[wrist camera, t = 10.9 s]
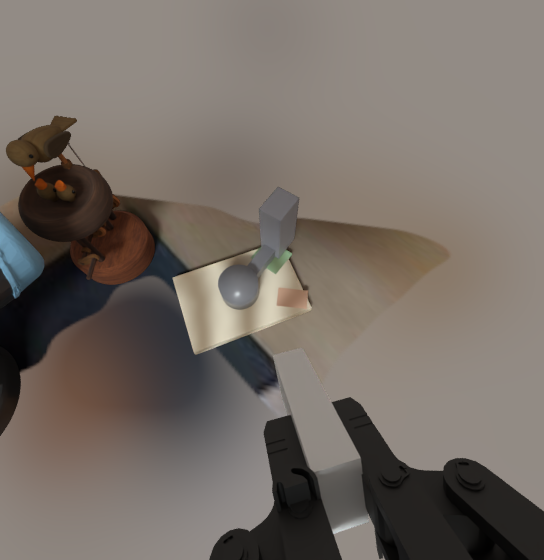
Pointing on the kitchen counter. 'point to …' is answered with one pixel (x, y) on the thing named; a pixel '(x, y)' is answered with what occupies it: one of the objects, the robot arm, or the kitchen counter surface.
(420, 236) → the kitchen counter surface
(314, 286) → the kitchen counter surface
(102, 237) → the music box
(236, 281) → the grey block with ball
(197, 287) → the board
